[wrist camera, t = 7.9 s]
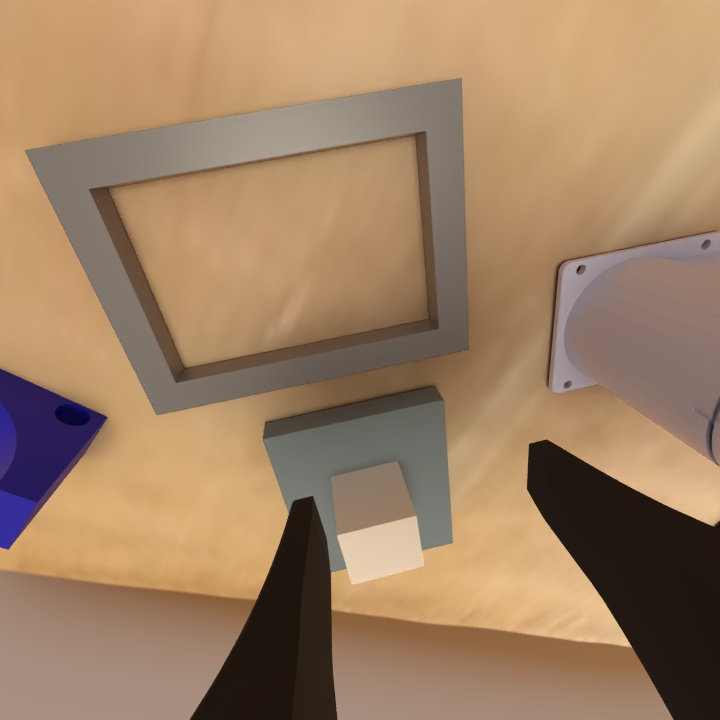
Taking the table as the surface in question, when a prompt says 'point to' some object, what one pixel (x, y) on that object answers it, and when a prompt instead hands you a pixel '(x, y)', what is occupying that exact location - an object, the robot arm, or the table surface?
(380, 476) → the cream block
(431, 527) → the slate pad
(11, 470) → the cable clip
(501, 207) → the table surface
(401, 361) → the pocket frame
